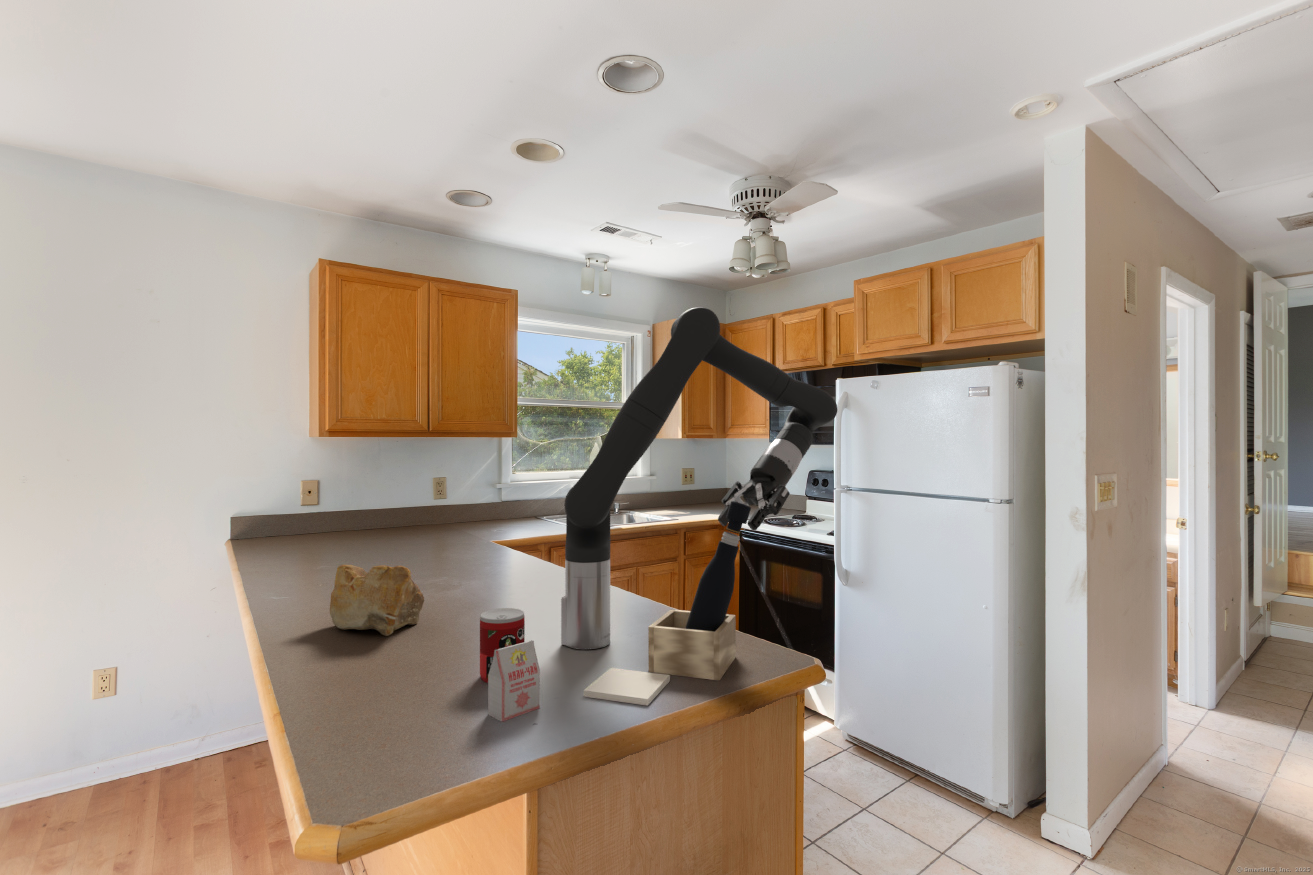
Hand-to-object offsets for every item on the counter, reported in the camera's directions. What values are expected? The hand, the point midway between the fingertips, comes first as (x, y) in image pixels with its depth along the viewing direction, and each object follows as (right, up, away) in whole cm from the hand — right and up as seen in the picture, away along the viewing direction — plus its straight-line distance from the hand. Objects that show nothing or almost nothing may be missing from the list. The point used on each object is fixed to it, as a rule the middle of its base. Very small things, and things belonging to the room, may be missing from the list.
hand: (735, 525), depth 123 cm
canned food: (-43, -25, -13) cm, 51 cm away
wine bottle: (-9, -24, -7) cm, 26 cm away
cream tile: (-20, -25, -18) cm, 37 cm away
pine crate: (-9, -25, -7) cm, 27 cm away
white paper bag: (-37, -25, -27) cm, 52 cm away
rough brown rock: (-76, -26, +18) cm, 82 cm away
